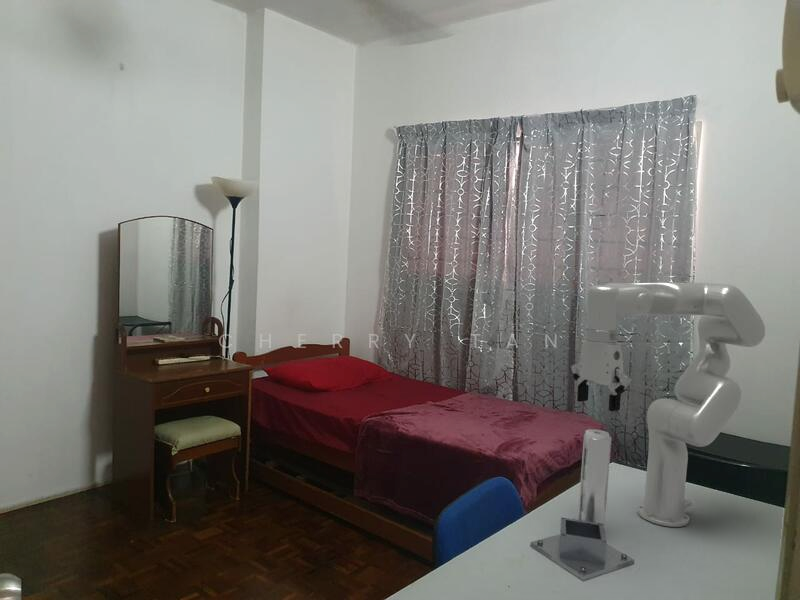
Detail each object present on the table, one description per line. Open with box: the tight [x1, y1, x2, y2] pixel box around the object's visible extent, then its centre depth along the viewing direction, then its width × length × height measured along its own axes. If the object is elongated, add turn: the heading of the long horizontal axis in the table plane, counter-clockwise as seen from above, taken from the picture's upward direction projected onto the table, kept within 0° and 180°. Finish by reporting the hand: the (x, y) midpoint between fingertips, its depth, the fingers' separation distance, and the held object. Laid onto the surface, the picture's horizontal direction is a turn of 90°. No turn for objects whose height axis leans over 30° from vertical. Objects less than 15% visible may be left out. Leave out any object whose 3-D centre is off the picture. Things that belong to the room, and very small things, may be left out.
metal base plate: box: [530, 517, 635, 582], centre depth 133 cm, size 16×16×6 cm
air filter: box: [577, 428, 612, 530], centre depth 146 cm, size 6×6×25 cm
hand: (597, 405), depth 143 cm, fingers open, 9 cm apart
